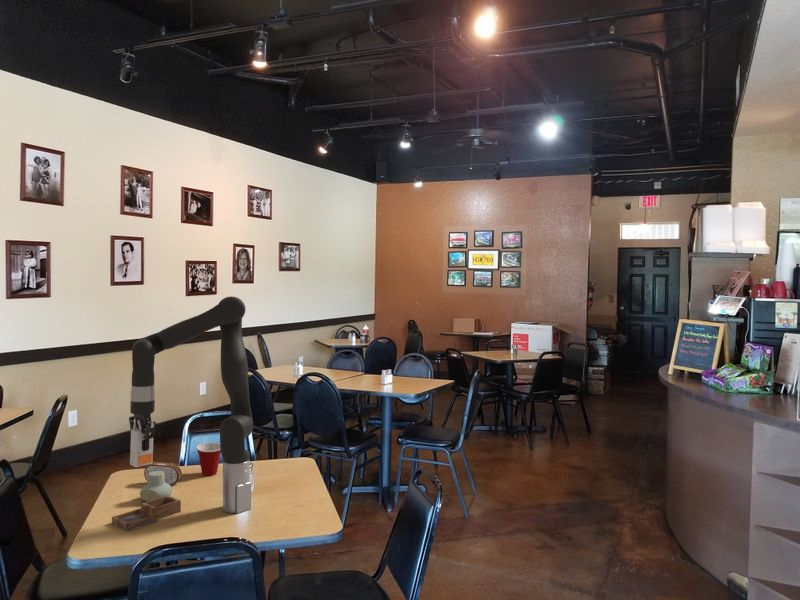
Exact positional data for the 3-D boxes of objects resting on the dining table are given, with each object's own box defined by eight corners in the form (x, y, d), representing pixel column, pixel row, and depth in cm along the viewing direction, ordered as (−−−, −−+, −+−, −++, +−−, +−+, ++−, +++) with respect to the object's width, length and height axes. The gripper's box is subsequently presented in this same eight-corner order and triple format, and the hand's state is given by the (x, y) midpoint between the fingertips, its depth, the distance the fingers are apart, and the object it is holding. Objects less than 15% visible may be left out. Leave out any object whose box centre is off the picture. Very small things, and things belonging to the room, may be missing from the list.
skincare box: (136, 467, 198) (136, 432, 198) (129, 465, 201) (130, 429, 201) (153, 463, 203) (154, 428, 203) (146, 461, 206) (147, 426, 205)
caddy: (183, 512, 208) (183, 501, 208) (127, 531, 192) (127, 519, 192) (167, 506, 214) (167, 495, 214) (111, 523, 198) (111, 511, 198)
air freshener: (135, 502, 218) (135, 475, 218) (150, 494, 226) (150, 468, 226) (162, 505, 215) (162, 477, 215) (175, 497, 223) (175, 470, 223)
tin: (182, 484, 238) (182, 463, 238) (178, 486, 235) (178, 465, 235) (147, 481, 241) (147, 461, 240) (142, 484, 237) (142, 463, 237)
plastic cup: (202, 480, 243) (202, 450, 243) (191, 473, 251) (191, 445, 251) (227, 474, 250) (227, 446, 250) (216, 468, 258) (216, 441, 258)
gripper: (164, 400, 200) (163, 451, 200) (142, 394, 209) (141, 442, 209) (142, 403, 194) (141, 455, 194) (121, 397, 203) (120, 447, 203)
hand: (141, 448), depth 202 cm, fingers closed on skincare box, 4 cm apart
